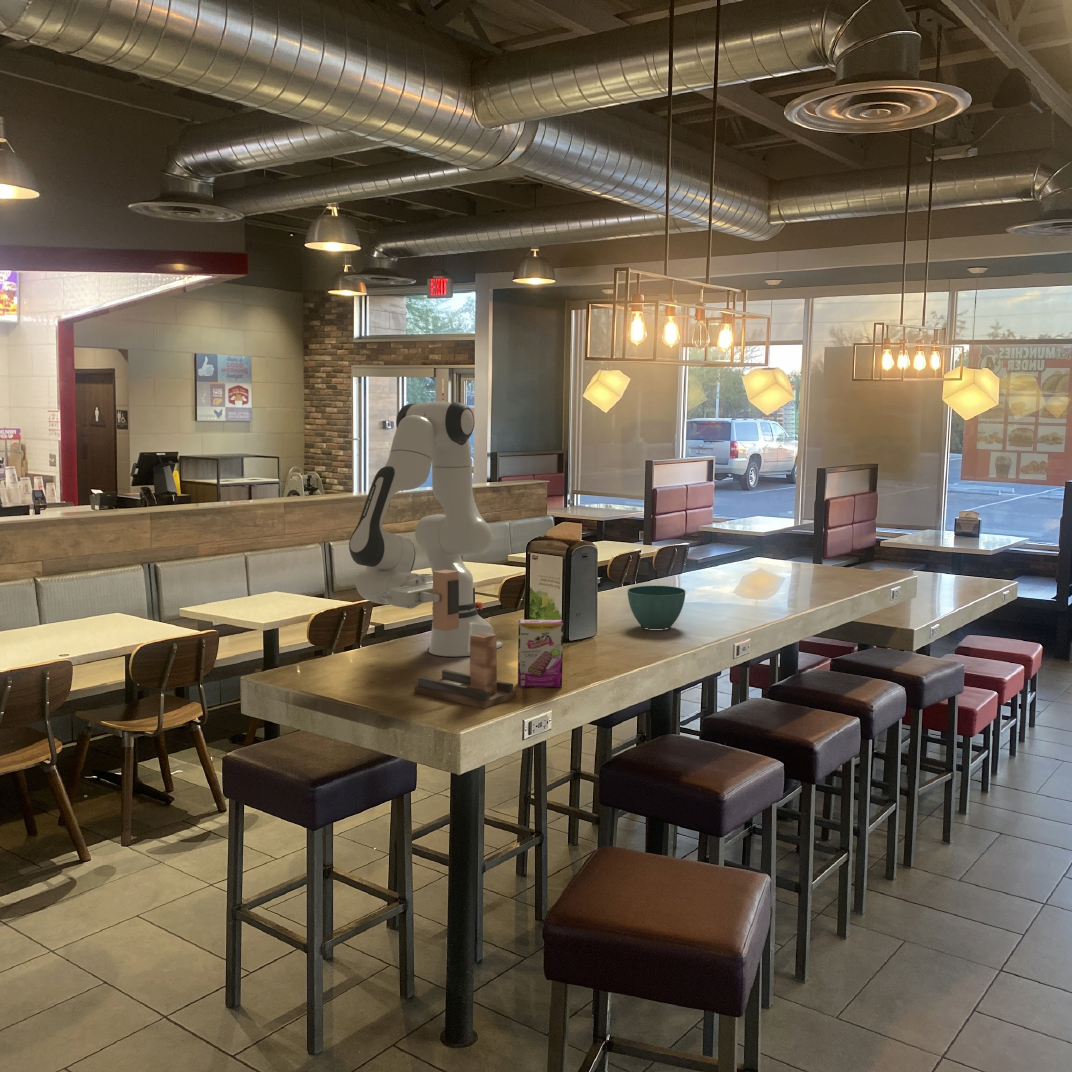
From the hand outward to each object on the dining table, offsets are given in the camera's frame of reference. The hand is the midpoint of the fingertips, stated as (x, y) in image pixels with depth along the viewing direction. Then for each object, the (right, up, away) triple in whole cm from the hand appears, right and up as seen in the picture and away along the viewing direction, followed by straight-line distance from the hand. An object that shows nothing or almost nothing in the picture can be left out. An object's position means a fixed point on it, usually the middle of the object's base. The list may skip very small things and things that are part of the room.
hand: (448, 596), depth 245 cm
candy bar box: (+22, -23, +8) cm, 33 cm away
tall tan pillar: (-1, -8, +1) cm, 8 cm away
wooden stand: (+4, -24, 0) cm, 24 cm away
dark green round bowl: (+59, -15, +78) cm, 99 cm away
